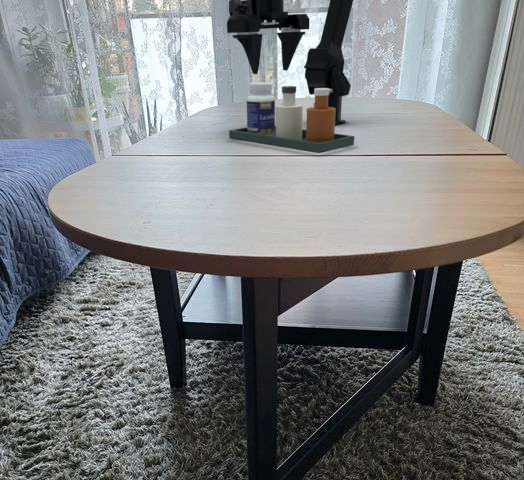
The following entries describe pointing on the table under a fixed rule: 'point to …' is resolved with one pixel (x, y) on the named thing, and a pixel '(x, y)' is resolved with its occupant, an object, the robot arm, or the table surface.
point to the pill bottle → (261, 109)
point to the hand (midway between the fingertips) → (270, 72)
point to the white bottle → (289, 115)
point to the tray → (293, 141)
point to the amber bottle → (320, 118)
